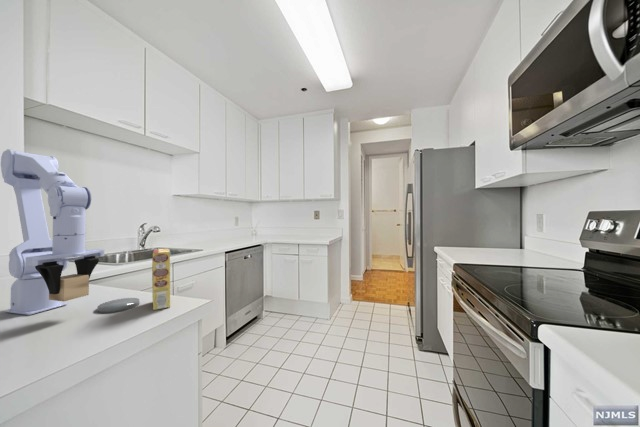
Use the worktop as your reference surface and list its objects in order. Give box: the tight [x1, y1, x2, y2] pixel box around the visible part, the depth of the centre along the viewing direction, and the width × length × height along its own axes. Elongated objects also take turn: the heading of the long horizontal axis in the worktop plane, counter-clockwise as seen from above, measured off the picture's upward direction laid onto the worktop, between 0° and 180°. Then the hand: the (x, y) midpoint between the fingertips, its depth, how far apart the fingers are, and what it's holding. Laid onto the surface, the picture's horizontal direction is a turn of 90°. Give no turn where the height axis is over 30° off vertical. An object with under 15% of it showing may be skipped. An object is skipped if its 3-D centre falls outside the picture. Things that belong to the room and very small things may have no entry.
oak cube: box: [49, 273, 90, 302], centre depth 61 cm, size 5×5×5 cm
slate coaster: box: [96, 297, 140, 314], centre depth 68 cm, size 9×9×1 cm
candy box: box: [151, 248, 171, 311], centre depth 70 cm, size 9×4×15 cm, turn 33°
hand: (68, 290), depth 61 cm, fingers closed on oak cube, 5 cm apart
